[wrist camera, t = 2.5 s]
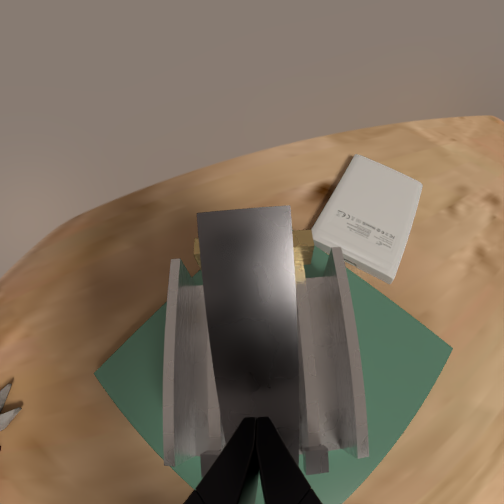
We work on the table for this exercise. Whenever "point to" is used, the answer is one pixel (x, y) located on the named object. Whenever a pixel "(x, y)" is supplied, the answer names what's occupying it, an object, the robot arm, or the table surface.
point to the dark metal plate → (252, 316)
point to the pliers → (5, 418)
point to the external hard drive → (369, 217)
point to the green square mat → (373, 367)
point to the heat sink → (310, 367)
